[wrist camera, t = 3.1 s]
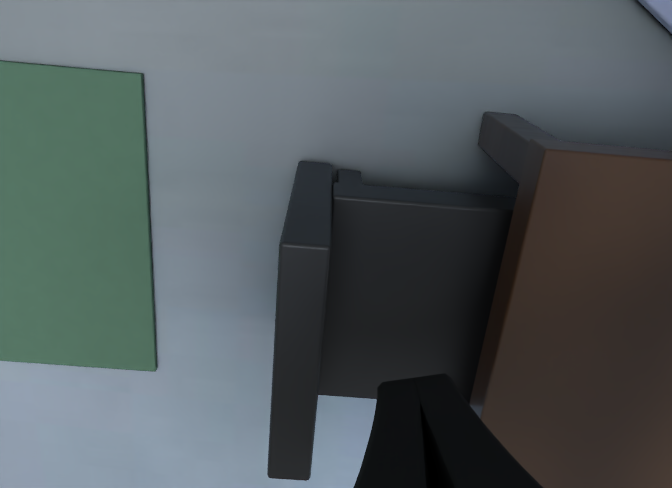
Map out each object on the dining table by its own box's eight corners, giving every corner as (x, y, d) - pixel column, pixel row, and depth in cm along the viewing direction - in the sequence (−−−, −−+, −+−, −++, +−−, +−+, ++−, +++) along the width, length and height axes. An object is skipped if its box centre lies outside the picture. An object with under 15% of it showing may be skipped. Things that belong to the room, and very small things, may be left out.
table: (748, 127, 16) (937, 183, 11) (643, 402, 20) (747, 536, 15) (478, 103, 16) (545, 149, 11) (425, 387, 20) (456, 518, 15)
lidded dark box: (287, 335, 18) (267, 479, 13) (298, 160, 16) (279, 242, 10) (523, 353, 19) (604, 501, 13) (568, 183, 16) (690, 275, 11)
